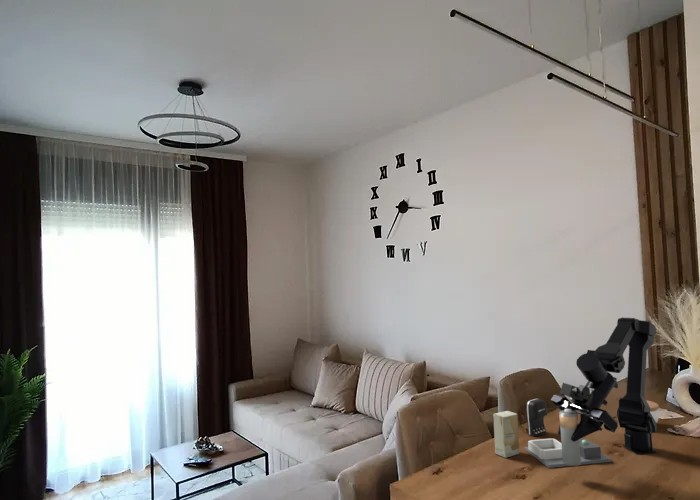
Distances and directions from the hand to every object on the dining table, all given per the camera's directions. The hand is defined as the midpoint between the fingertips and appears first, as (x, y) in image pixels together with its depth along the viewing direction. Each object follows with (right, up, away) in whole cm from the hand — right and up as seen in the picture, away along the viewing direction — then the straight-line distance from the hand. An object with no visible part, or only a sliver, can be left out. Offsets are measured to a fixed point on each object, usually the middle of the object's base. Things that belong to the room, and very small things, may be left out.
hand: (565, 437), depth 123 cm
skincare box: (-9, -13, +19) cm, 25 cm away
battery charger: (+6, -13, +34) cm, 36 cm away
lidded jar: (+43, -11, +36) cm, 58 cm away
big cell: (+2, -7, 0) cm, 7 cm away
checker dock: (+7, -12, +16) cm, 21 cm away
